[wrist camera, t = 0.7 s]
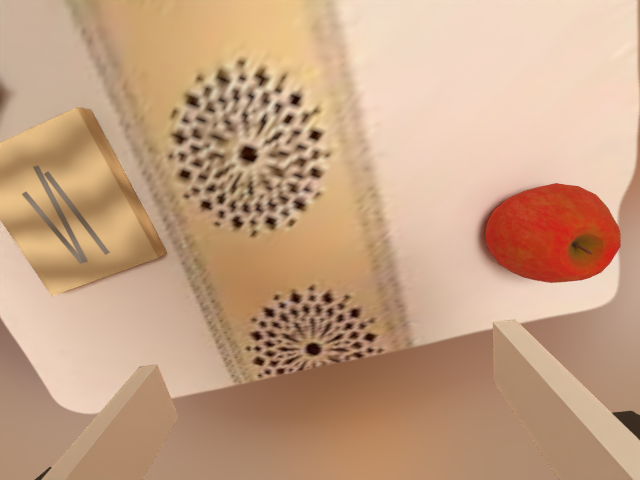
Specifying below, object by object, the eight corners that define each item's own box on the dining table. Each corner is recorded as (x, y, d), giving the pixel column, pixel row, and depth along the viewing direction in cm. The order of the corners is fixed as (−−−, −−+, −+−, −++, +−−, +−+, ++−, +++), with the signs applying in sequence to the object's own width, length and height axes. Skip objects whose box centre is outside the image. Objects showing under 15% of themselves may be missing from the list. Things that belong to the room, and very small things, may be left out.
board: (-20, 160, 36) (-40, 160, 34) (90, 109, 34) (76, 107, 32) (65, 289, 41) (51, 296, 39) (167, 252, 39) (158, 257, 37)
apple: (543, 161, 33) (632, 167, 23) (581, 233, 35) (679, 267, 25) (459, 215, 35) (509, 241, 25) (501, 280, 38) (561, 328, 28)
